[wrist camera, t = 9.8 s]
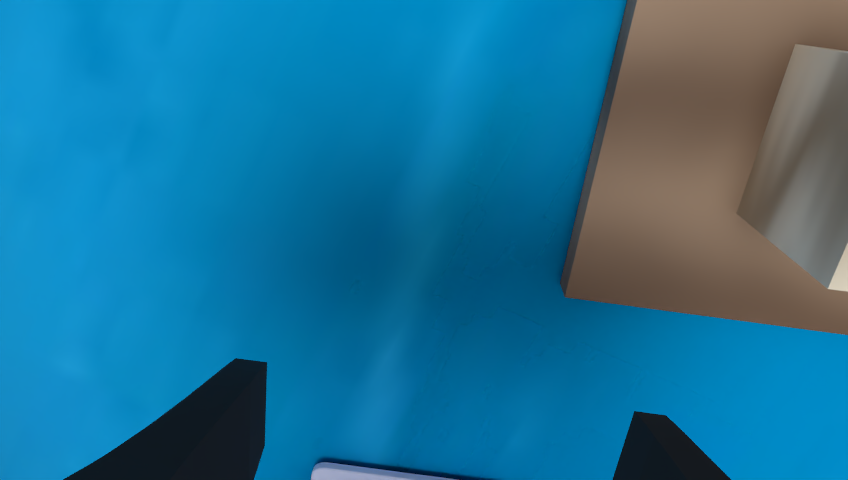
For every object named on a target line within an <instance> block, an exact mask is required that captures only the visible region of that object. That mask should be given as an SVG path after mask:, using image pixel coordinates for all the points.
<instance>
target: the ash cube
mask: <svg viewBox="0 0 848 480" xmlns="http://www.w3.org/2000/svg"><path fill="white" fill-rule="evenodd" d="M736 214H737V215H739V216H740V217H741V218H742V219H743V220H745V221H746V222H747V223H748V224H749V225H751V226H752V227H753V228H754V229H756V230H757V231H758V232H759V233H760V234H762V235H763V236H764V237H765V238H766V239H768V240H769V241H770V242H771V243H773V244H774V245H775V246H776V247H777V248H779V249H780V250H781V251H782V252H783V253H785V254H786V255H787V256H788V257H790V258H791V259H792V260H793V261H794V262H796V263H797V264H798V265H799V266H800V267H802V268H803V269H804V270H805V271H807V272H808V273H809V274H810V275H811V276H813V277H814V278H815V279H816V280H817V281H819V282H820V283H821V284H822V285H824V286H825V287H826V288H827V289H832V290H839V291H847V292H848V51H843V50H836V49H828V48H821V47H814V46H806V45H799V44H795V46H794V49H793V52H792V55H791V58H790V61H789V64H788V67H787V69H786V72H785V75H784V78H783V81H782V84H781V87H780V90H779V92H778V95H777V98H776V101H775V104H774V107H773V110H772V113H771V115H770V118H769V121H768V124H767V127H766V130H765V133H764V136H763V138H762V141H761V144H760V147H759V150H758V153H757V156H756V159H755V161H754V164H753V167H752V170H751V173H750V176H749V179H748V182H747V184H746V187H745V190H744V193H743V196H742V199H741V202H740V205H739V208H738V210H737V213H736Z"/></svg>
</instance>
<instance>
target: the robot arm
mask: <svg viewBox="0 0 848 480" xmlns="http://www.w3.org/2000/svg"><path fill="white" fill-rule="evenodd" d="M266 376H267V362H259V361H252V360H244V359H237V358H236V359H234V360H233V361H232V362H230V363H229V364H228V365H226V366H225V367H224V368H222V369H221V370H220V371H219V372H217V373H216V374H215V375H214V376H212V377H211V378H210V379H209V380H207V381H206V382H205V383H204V384H203V385H201V386H200V387H199V388H197V389H196V390H195V391H194V392H192V393H191V394H190V395H189V396H187V397H186V398H185V399H184V400H182V401H181V402H180V403H178V404H177V405H176V406H174V407H173V408H172V409H170V410H169V411H168V412H166V413H165V414H164V415H162V416H161V417H160V418H158V419H157V420H156V421H154V422H153V423H152V424H150V425H149V426H147V427H146V428H144V429H143V430H141V431H140V432H139V433H137V434H136V435H134V436H133V437H131V438H130V439H128V440H127V441H125V442H124V443H122V444H121V445H120V446H118V447H117V448H115V449H114V450H112V451H111V452H109V453H108V454H106V455H104V456H103V457H101V458H99V459H98V460H96V461H95V462H93V463H91V464H90V465H88V466H86V467H84V468H83V469H81V470H79V471H77V472H76V473H74V474H72V475H70V476H69V477H67V478H65V479H63V480H254V477H255V474H256V471H257V468H258V465H259V461H260V458H261V455H262V452H263V449H264V446H265V412H266ZM311 480H457V479H449V478H442V477H434V476H427V475H419V474H412V473H404V472H396V471H389V470H381V469H374V468H366V467H359V466H351V465H344V464H336V463H328V462H321V463H318V464H316V465H315V466H314V468H313V471H312V475H311ZM613 480H731V479H730V478H729V477H728V476H727V475H726V474H725V473H724V472H723V471H722V470H721V469H720V468H719V467H718V466H717V465H716V464H715V463H714V462H713V461H712V460H711V459H710V458H709V457H708V456H707V455H706V454H705V453H704V452H703V451H702V450H701V449H700V448H699V447H698V446H697V445H696V444H695V443H694V442H693V441H692V440H691V439H690V438H689V437H688V436H687V435H686V434H685V433H684V432H683V431H682V430H681V429H680V428H679V427H678V426H677V425H676V424H675V423H673V422H672V421H671V420H670V419H669V418H668V417H667V416H666V415H658V414H651V413H643V412H636V411H634V414H633V418H632V421H631V424H630V427H629V430H628V433H627V436H626V439H625V443H624V446H623V449H622V452H621V455H620V458H619V461H618V464H617V468H616V471H615V474H614V477H613Z"/></svg>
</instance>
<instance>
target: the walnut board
mask: <svg viewBox="0 0 848 480" xmlns="http://www.w3.org/2000/svg"><path fill="white" fill-rule="evenodd" d="M795 44H799V45H806V46H814V47H821V48H828V49H836V50H843V51H848V0H627V4H626V8H625V12H624V16H623V21H622V25H621V29H620V33H619V38H618V42H617V46H616V50H615V54H614V59H613V63H612V67H611V71H610V75H609V80H608V84H607V88H606V92H605V97H604V101H603V105H602V109H601V113H600V118H599V122H598V126H597V130H596V134H595V139H594V143H593V147H592V151H591V156H590V160H589V164H588V168H587V172H586V177H585V181H584V185H583V189H582V193H581V198H580V202H579V206H578V210H577V215H576V219H575V223H574V227H573V231H572V236H571V240H570V244H569V248H568V252H567V257H566V261H565V265H564V269H563V274H562V278H561V282H560V284H561V287H562V290H563V293H564V296H565V297H568V298H575V299H583V300H590V301H598V302H605V303H613V304H620V305H628V306H635V307H643V308H650V309H658V310H665V311H673V312H680V313H688V314H695V315H702V316H710V317H717V318H725V319H732V320H740V321H747V322H755V323H762V324H770V325H777V326H785V327H792V328H800V329H807V330H815V331H822V332H830V333H837V334H845V335H848V292H847V291H839V290H832V289H827V288H826V287H825V286H824V285H822V284H821V283H820V282H819V281H817V280H816V279H815V278H814V277H813V276H811V275H810V274H809V273H808V272H807V271H805V270H804V269H803V268H802V267H800V266H799V265H798V264H797V263H796V262H794V261H793V260H792V259H791V258H790V257H788V256H787V255H786V254H785V253H783V252H782V251H781V250H780V249H779V248H777V247H776V246H775V245H774V244H773V243H771V242H770V241H769V240H768V239H766V238H765V237H764V236H763V235H762V234H760V233H759V232H758V231H757V230H756V229H754V228H753V227H752V226H751V225H749V224H748V223H747V222H746V221H745V220H743V219H742V218H741V217H740V216H739V215H737V214H736V213H737V210H738V208H739V205H740V202H741V199H742V196H743V193H744V190H745V187H746V184H747V182H748V179H749V176H750V173H751V170H752V167H753V164H754V161H755V159H756V156H757V153H758V150H759V147H760V144H761V141H762V138H763V136H764V133H765V130H766V127H767V124H768V121H769V118H770V115H771V113H772V110H773V107H774V104H775V101H776V98H777V95H778V92H779V90H780V87H781V84H782V81H783V78H784V75H785V72H786V69H787V67H788V64H789V61H790V58H791V55H792V52H793V49H794V46H795Z"/></svg>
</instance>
